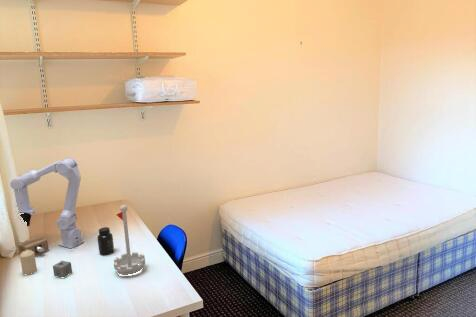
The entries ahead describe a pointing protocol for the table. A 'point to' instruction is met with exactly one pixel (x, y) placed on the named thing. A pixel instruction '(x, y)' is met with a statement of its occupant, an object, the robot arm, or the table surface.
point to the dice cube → (62, 269)
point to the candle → (28, 262)
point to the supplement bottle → (105, 241)
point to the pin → (39, 249)
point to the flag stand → (128, 252)
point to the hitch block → (33, 245)
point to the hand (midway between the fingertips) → (26, 226)
